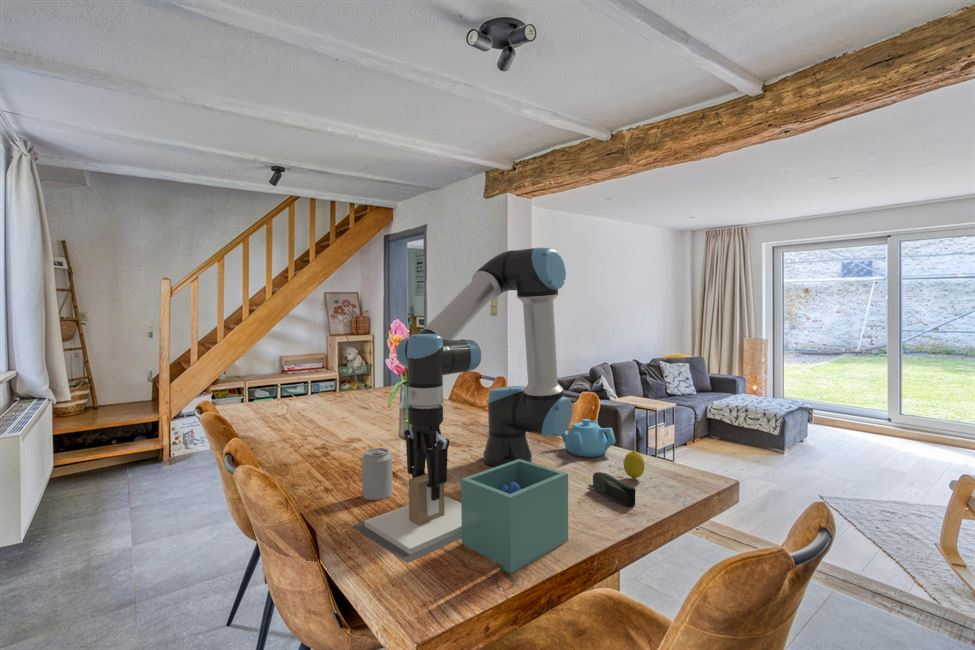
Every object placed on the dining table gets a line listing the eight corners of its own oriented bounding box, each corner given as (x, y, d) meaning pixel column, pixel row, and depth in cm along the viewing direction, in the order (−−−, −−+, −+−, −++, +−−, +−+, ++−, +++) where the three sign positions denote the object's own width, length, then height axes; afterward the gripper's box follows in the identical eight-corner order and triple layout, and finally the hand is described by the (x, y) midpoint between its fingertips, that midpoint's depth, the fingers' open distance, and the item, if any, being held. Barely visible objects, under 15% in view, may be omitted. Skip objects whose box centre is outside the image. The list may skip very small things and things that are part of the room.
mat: (351, 529, 104) (351, 526, 104) (441, 497, 122) (441, 493, 122) (407, 566, 89) (407, 562, 89) (500, 523, 107) (500, 519, 107)
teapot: (573, 461, 149) (573, 426, 149) (555, 447, 164) (555, 416, 164) (618, 457, 153) (618, 423, 153) (596, 444, 168) (596, 413, 167)
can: (366, 505, 117) (365, 457, 116) (359, 495, 124) (358, 449, 123) (396, 499, 120) (395, 452, 120) (387, 489, 127) (387, 444, 126)
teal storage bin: (461, 547, 96) (461, 478, 96) (519, 520, 108) (519, 458, 108) (510, 573, 87) (510, 497, 86) (568, 540, 99) (568, 473, 98)
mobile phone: (637, 486, 115) (595, 467, 128) (628, 489, 114) (586, 469, 127) (637, 507, 116) (594, 485, 129) (628, 509, 114) (586, 487, 127)
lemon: (645, 483, 130) (645, 454, 130) (624, 482, 131) (624, 453, 131) (643, 476, 135) (643, 448, 135) (622, 475, 137) (623, 447, 136)
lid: (364, 526, 104) (363, 479, 104) (440, 498, 119) (439, 457, 118) (410, 554, 92) (409, 502, 92) (488, 519, 107) (487, 474, 106)
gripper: (389, 402, 108) (391, 504, 109) (435, 413, 96) (437, 528, 97) (417, 397, 113) (418, 495, 114) (463, 407, 101) (464, 517, 102)
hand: (426, 510), depth 105 cm, fingers closed on lid, 3 cm apart
